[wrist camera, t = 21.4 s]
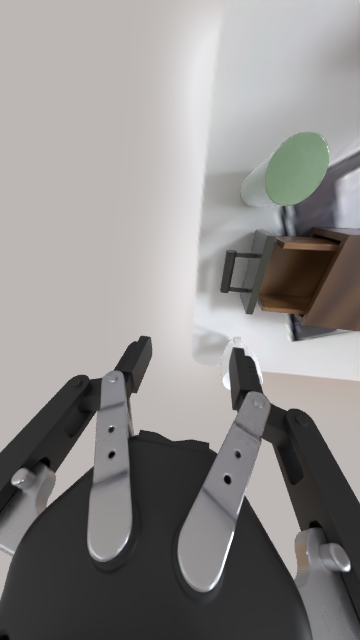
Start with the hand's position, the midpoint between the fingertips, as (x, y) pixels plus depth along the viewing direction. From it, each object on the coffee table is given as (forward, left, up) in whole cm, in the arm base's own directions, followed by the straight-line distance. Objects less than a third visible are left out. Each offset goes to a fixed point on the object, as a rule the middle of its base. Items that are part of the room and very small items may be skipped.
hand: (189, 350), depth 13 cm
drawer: (0, +13, -25) cm, 28 cm away
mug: (+19, +10, -26) cm, 34 cm away
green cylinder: (-12, +7, -26) cm, 29 cm away
